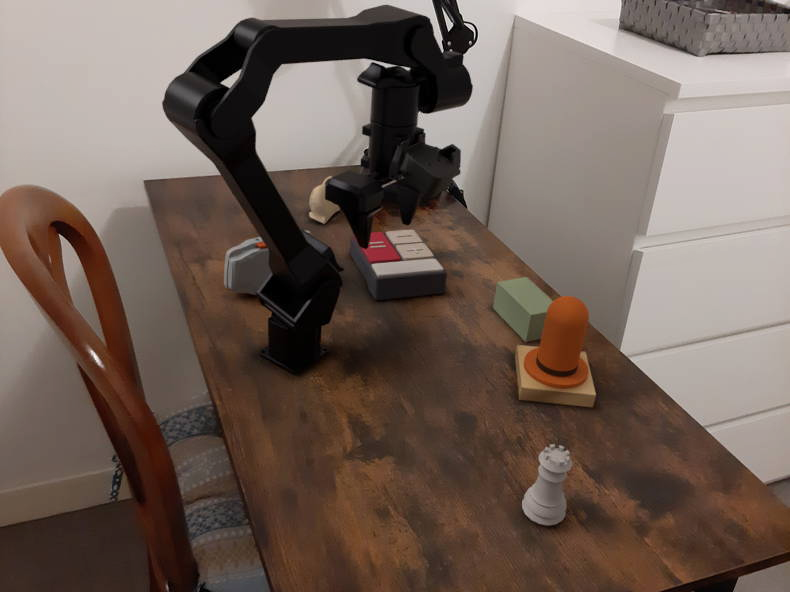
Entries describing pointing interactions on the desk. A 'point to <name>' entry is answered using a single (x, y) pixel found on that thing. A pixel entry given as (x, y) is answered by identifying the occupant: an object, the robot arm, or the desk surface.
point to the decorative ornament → (321, 204)
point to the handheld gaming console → (247, 266)
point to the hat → (560, 346)
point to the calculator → (398, 265)
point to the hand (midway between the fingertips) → (385, 235)
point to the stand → (547, 394)
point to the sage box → (522, 307)
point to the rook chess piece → (548, 488)
